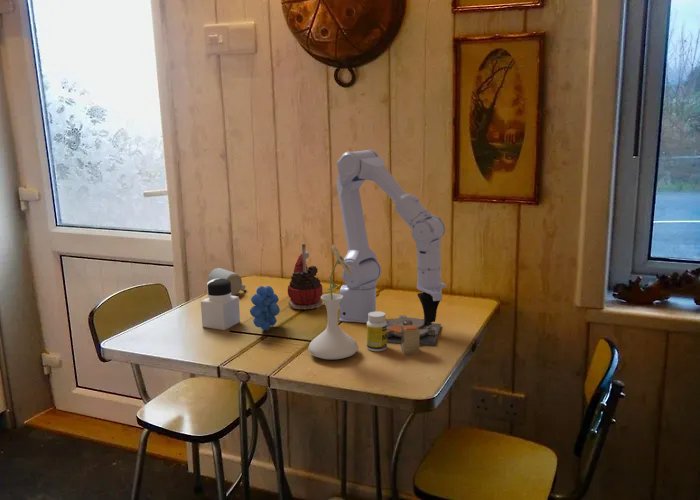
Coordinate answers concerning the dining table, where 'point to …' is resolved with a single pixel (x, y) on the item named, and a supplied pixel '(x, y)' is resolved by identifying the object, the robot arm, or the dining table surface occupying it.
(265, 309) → the grapes
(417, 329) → the link block
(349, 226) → the robot arm
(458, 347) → the dining table surface
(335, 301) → the flower in vase
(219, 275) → the ceramic mug
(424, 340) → the base plate
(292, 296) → the cake
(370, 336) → the supplement bottle
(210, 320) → the medicine bottle
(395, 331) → the sprocket
